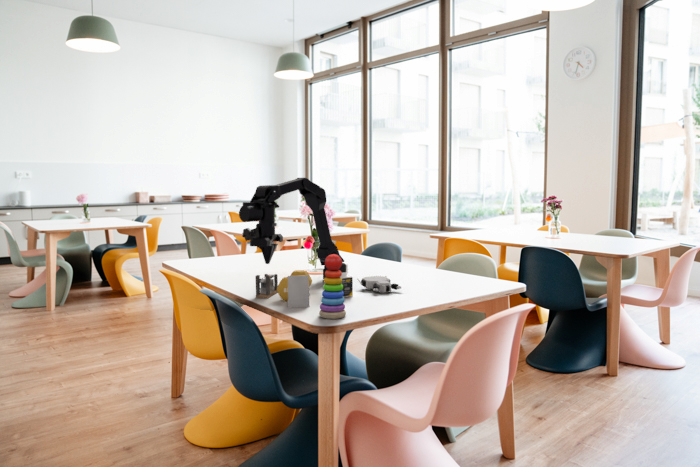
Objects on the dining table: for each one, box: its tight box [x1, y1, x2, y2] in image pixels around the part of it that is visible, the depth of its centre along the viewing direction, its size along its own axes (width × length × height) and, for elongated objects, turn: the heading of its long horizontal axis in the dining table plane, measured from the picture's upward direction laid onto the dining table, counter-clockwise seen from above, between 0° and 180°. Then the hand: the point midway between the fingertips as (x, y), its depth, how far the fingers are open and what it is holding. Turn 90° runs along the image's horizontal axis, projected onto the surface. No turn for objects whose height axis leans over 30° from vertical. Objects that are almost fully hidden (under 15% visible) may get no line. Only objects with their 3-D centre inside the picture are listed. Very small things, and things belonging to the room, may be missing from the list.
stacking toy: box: [318, 254, 347, 320], centre depth 154 cm, size 8×8×19 cm
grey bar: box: [259, 274, 275, 284], centre depth 185 cm, size 10×2×1 cm, turn 170°
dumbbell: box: [277, 269, 313, 302], centre depth 184 cm, size 19×9×8 cm, turn 171°
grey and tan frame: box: [255, 273, 279, 299], centre depth 185 cm, size 11×5×8 cm, turn 170°
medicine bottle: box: [339, 261, 354, 298], centre depth 184 cm, size 7×7×12 cm
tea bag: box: [287, 274, 311, 309], centre depth 168 cm, size 4×7×10 cm, turn 100°
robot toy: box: [356, 275, 402, 294], centre depth 193 cm, size 12×4×15 cm
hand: (267, 263), depth 186 cm, fingers closed
